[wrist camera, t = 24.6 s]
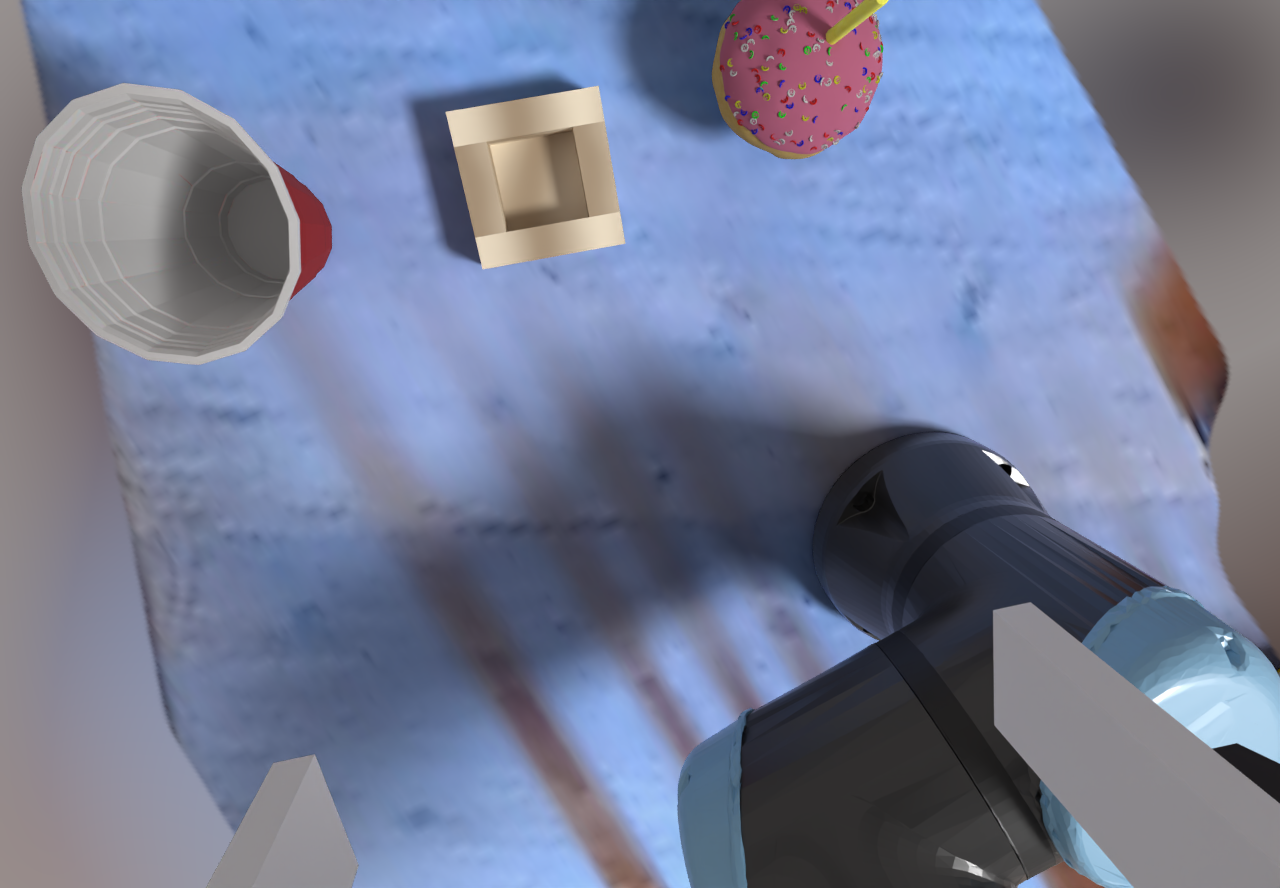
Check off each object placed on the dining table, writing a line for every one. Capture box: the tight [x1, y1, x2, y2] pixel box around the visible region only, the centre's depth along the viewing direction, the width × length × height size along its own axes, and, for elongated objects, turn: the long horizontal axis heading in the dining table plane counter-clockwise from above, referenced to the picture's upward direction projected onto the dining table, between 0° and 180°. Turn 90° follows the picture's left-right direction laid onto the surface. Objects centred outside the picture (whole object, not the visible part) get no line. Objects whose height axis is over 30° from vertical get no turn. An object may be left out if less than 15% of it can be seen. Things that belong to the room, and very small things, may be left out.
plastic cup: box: [21, 83, 332, 365], centre depth 33 cm, size 11×11×12 cm
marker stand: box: [446, 86, 625, 269], centre depth 38 cm, size 8×8×2 cm
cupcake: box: [712, 0, 888, 159], centre depth 34 cm, size 9×8×12 cm
